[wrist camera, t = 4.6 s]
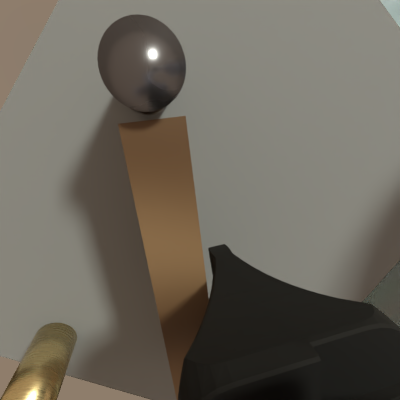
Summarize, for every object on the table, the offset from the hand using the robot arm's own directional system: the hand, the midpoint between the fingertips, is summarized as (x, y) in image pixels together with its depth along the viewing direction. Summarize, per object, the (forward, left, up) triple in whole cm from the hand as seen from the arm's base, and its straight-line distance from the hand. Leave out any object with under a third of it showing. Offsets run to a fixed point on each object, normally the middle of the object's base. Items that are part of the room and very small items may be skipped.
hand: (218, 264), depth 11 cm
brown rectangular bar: (+1, -1, -1) cm, 2 cm away
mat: (-1, 0, -2) cm, 2 cm away
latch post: (+8, -4, -2) cm, 10 cm away
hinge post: (-4, -7, -2) cm, 8 cm away
